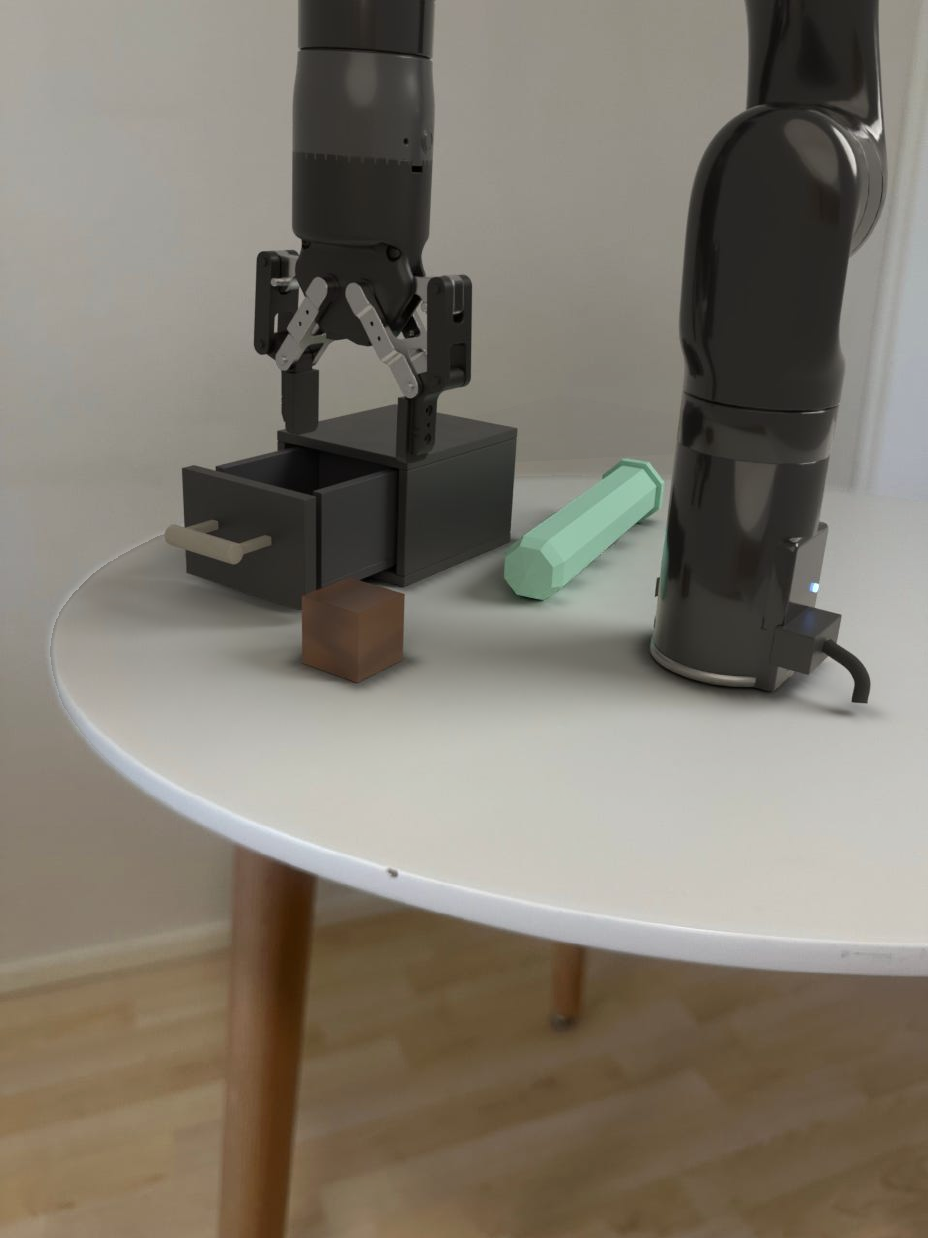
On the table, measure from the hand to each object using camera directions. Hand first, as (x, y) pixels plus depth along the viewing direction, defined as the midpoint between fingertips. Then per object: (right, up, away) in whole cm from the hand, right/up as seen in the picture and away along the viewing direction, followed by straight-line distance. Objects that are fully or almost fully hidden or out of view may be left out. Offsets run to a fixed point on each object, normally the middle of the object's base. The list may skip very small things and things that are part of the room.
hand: (355, 445), depth 68 cm
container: (+16, -5, +26) cm, 31 cm away
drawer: (-6, -7, +16) cm, 18 cm away
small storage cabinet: (+1, -4, +26) cm, 26 cm away
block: (-1, -13, +5) cm, 14 cm away
